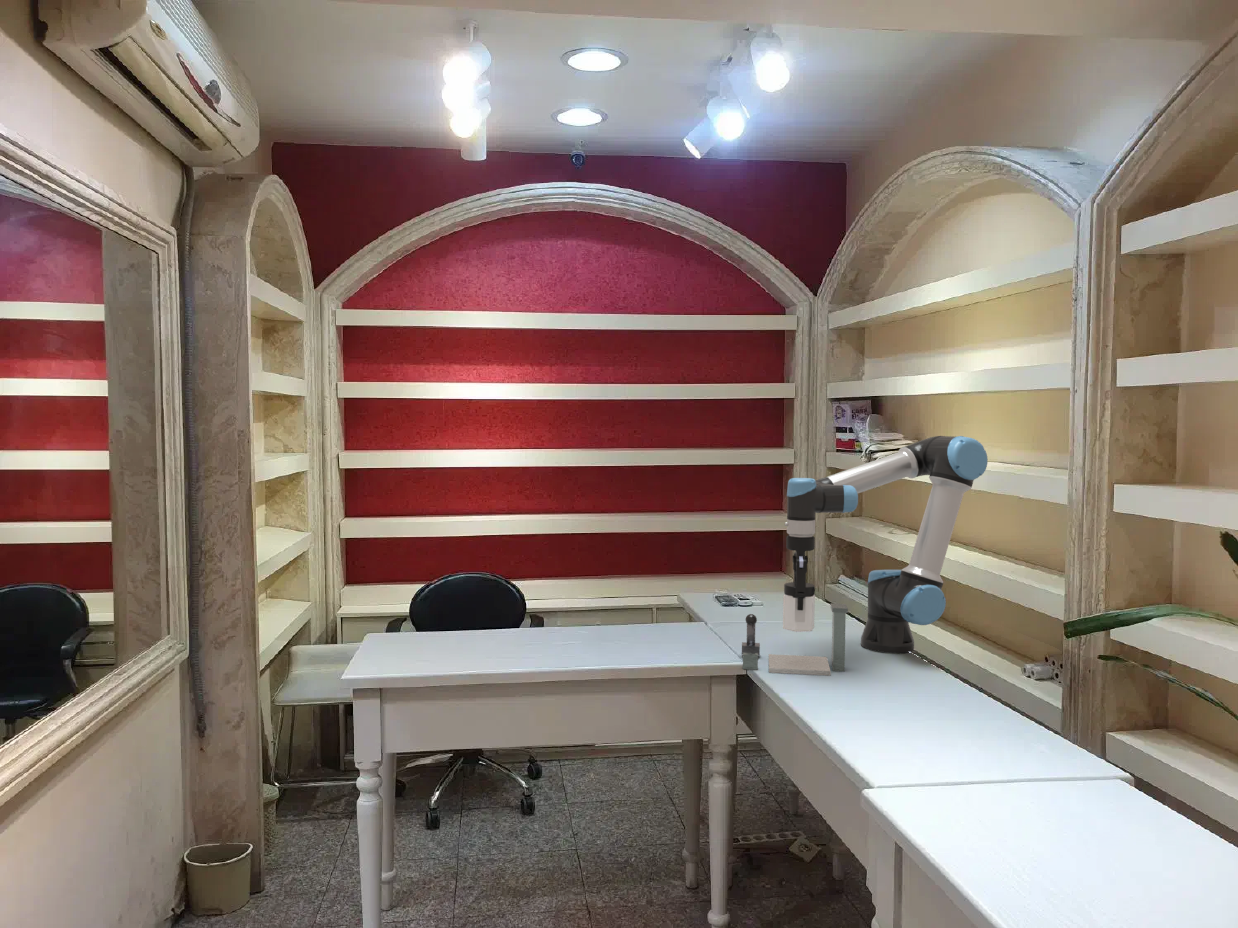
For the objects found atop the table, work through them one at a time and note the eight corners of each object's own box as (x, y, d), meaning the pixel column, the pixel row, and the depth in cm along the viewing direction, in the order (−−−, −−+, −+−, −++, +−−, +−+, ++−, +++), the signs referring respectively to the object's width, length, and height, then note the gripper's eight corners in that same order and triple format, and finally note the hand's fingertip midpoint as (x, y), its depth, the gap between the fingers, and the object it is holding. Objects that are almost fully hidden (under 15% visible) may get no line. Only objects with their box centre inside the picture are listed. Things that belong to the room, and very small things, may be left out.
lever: (759, 651, 251) (760, 612, 250) (759, 654, 247) (760, 616, 246) (742, 650, 252) (742, 612, 251) (741, 654, 248) (742, 615, 247)
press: (842, 658, 247) (843, 598, 246) (848, 676, 230) (849, 611, 230) (743, 654, 252) (744, 594, 251) (742, 671, 235) (743, 607, 234)
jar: (821, 629, 238) (822, 585, 237) (802, 633, 233) (803, 588, 232) (795, 623, 245) (796, 580, 244) (776, 627, 239) (776, 583, 239)
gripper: (785, 529, 248) (783, 609, 250) (787, 539, 228) (786, 626, 229) (812, 530, 247) (810, 610, 248) (817, 540, 226) (815, 627, 228)
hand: (799, 617), depth 239 cm, fingers closed on jar, 8 cm apart
